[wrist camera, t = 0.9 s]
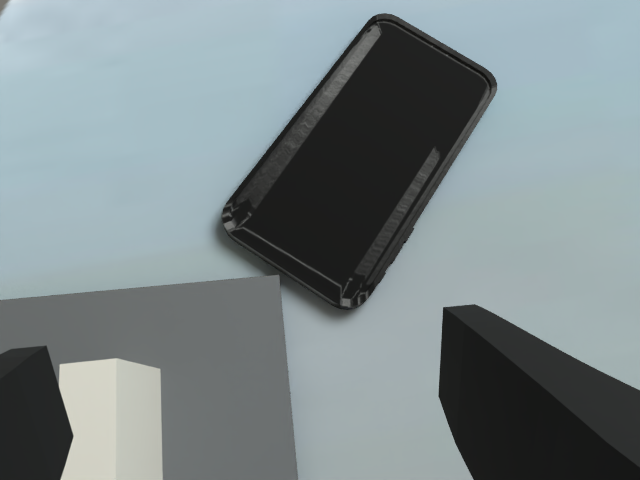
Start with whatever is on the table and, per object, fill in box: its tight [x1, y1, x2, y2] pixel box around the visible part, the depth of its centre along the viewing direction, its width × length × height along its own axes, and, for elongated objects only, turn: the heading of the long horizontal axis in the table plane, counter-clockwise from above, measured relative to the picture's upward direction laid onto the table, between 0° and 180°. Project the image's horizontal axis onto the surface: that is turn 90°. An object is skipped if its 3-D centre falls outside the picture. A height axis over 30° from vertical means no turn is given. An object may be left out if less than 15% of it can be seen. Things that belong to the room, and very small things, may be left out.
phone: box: [222, 13, 497, 310], centre depth 25 cm, size 8×1×15 cm
